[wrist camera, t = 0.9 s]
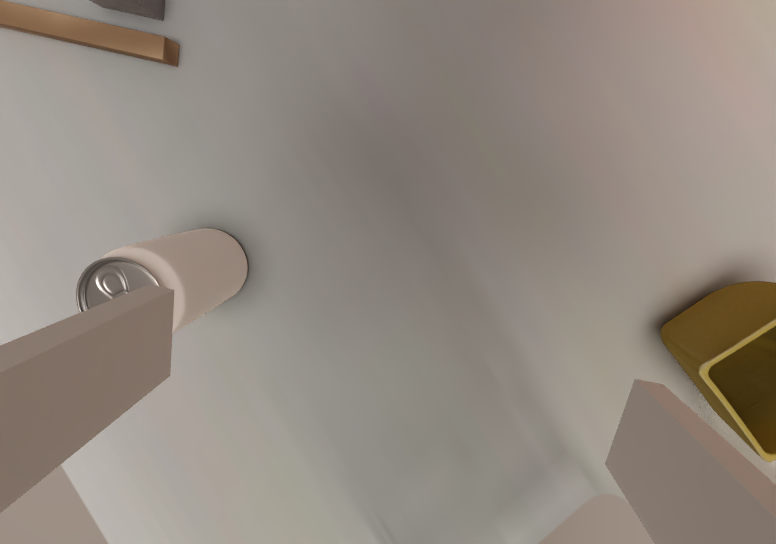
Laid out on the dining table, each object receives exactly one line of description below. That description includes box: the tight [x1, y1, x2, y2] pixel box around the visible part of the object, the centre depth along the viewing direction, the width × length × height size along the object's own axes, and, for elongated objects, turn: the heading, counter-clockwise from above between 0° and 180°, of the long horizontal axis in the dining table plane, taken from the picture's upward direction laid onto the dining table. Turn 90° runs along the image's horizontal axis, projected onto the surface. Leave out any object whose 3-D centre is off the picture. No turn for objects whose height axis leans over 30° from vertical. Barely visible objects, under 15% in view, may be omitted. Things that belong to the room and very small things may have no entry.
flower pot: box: [661, 281, 776, 462], centre depth 31 cm, size 9×9×9 cm
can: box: [76, 228, 248, 334], centre depth 31 cm, size 6×6×12 cm
